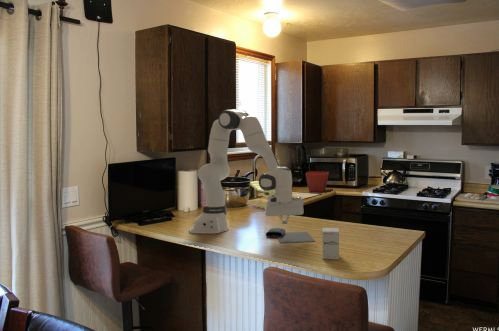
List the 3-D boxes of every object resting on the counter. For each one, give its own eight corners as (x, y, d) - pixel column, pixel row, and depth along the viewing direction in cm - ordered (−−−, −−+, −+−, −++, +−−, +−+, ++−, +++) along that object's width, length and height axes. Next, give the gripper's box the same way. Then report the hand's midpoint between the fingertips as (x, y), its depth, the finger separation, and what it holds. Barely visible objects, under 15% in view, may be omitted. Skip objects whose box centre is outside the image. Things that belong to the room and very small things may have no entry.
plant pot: (328, 189, 396) (328, 171, 394) (327, 193, 377) (327, 173, 376) (307, 189, 400) (307, 171, 399) (305, 192, 382) (305, 173, 380)
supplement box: (322, 259, 191) (321, 231, 190) (322, 254, 199) (322, 227, 197) (339, 260, 190) (339, 231, 189) (338, 255, 197) (338, 227, 196)
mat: (279, 243, 220) (279, 242, 220) (274, 233, 240) (274, 233, 240) (315, 241, 221) (315, 241, 221) (307, 232, 241) (307, 231, 241)
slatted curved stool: (291, 208, 312) (291, 183, 310) (272, 211, 303) (272, 185, 302) (268, 202, 337) (267, 179, 336) (250, 205, 329) (250, 181, 328)
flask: (282, 237, 230) (286, 232, 240) (282, 232, 230) (286, 227, 240) (265, 237, 232) (269, 232, 243) (265, 231, 232) (269, 226, 242)
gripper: (302, 195, 232) (302, 221, 233) (264, 197, 231) (264, 223, 232) (304, 197, 226) (305, 224, 227) (265, 199, 224) (266, 225, 225)
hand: (284, 223), depth 229 cm, fingers closed
